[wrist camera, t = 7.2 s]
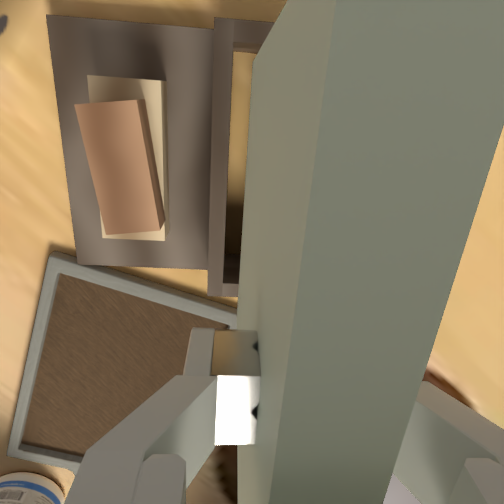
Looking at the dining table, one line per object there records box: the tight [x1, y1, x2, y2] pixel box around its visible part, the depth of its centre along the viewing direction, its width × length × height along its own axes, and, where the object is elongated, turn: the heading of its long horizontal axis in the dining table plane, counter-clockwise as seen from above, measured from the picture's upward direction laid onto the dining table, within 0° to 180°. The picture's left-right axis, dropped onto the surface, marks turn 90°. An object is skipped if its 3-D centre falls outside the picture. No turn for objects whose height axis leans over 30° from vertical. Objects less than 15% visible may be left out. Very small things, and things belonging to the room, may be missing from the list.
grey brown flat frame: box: [7, 251, 237, 476], centre depth 41 cm, size 19×2×30 cm
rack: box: [46, 15, 274, 297], centre depth 29 cm, size 18×19×6 cm
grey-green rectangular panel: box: [237, 0, 504, 504], centre depth 13 cm, size 2×14×16 cm, turn 176°
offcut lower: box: [87, 75, 170, 241], centre depth 29 cm, size 5×12×2 cm, turn 176°
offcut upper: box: [74, 99, 166, 235], centre depth 27 cm, size 4×9×2 cm, turn 4°
